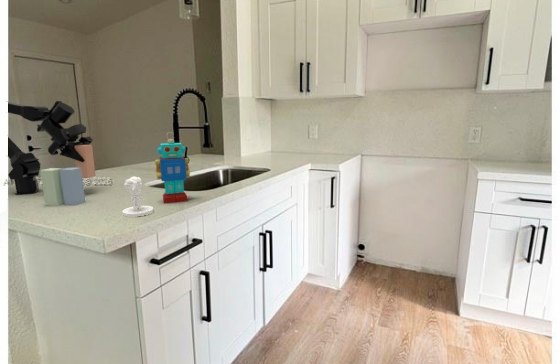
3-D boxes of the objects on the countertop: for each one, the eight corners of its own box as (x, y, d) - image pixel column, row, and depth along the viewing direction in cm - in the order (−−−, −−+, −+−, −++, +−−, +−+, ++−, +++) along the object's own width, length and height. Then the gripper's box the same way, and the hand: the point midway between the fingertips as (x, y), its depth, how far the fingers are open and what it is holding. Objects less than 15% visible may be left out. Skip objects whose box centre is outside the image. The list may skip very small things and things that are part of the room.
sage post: (45, 205, 114) (40, 170, 111) (55, 202, 118) (50, 168, 115) (57, 205, 113) (52, 170, 111) (67, 202, 118) (62, 168, 115)
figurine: (134, 219, 99) (130, 180, 96) (116, 214, 104) (112, 177, 101) (159, 211, 106) (156, 175, 104) (141, 207, 111) (138, 173, 109)
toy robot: (159, 203, 115) (153, 133, 110) (158, 199, 121) (152, 132, 115) (192, 200, 120) (188, 132, 114) (189, 196, 125) (185, 131, 120)
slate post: (64, 204, 115) (59, 169, 112) (73, 201, 119) (69, 167, 117) (76, 204, 114) (72, 169, 112) (85, 201, 119) (80, 167, 116)
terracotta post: (77, 177, 127) (73, 145, 124) (85, 175, 131) (81, 144, 128) (88, 178, 126) (84, 146, 124) (95, 175, 131) (92, 144, 128)
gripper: (50, 117, 115) (83, 148, 116) (85, 116, 133) (114, 143, 135) (33, 139, 117) (66, 170, 119) (70, 135, 135) (98, 162, 137)
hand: (87, 160), depth 127 cm, fingers closed on terracotta post, 4 cm apart
